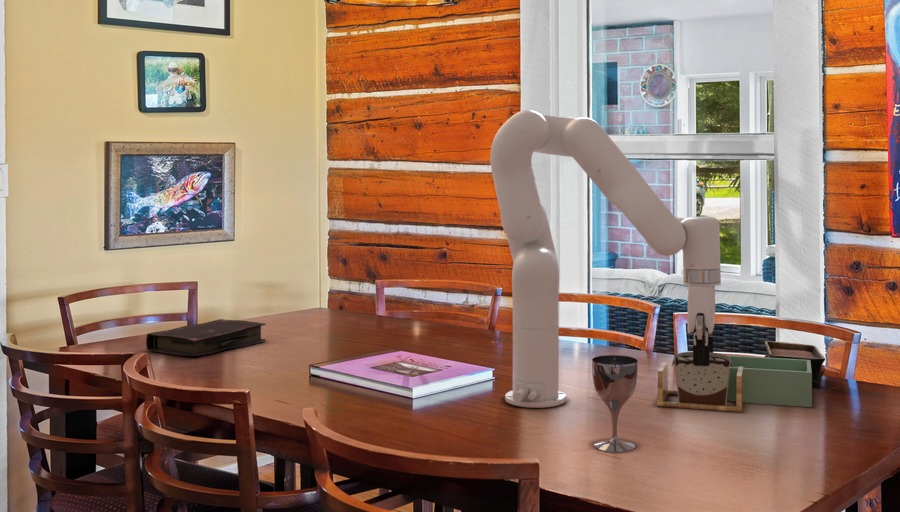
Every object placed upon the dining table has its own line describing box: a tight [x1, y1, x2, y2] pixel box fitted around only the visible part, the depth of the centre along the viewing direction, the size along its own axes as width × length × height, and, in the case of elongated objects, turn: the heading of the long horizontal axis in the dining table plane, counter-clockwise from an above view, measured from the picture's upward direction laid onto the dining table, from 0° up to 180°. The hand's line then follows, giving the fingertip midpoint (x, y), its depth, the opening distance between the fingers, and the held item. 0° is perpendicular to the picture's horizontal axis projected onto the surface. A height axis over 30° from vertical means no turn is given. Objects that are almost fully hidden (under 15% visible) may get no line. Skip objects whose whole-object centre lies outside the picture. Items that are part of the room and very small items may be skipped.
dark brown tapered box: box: [764, 340, 826, 388], centre depth 218 cm, size 14×18×10 cm
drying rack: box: [656, 361, 744, 413], centre depth 198 cm, size 11×17×7 cm, turn 74°
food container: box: [671, 351, 733, 406], centre depth 198 cm, size 12×6×10 cm, turn 84°
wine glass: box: [591, 354, 639, 453], centre depth 169 cm, size 8×8×15 cm
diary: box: [145, 318, 267, 357], centre depth 255 cm, size 19×25×5 cm
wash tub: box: [726, 354, 813, 408], centre depth 203 cm, size 13×18×7 cm
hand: (703, 360), depth 198 cm, fingers open, 9 cm apart
